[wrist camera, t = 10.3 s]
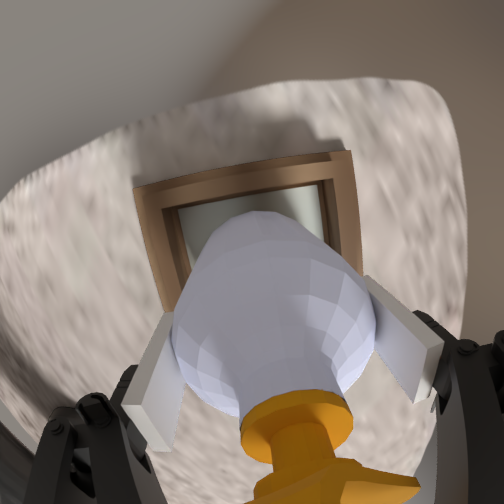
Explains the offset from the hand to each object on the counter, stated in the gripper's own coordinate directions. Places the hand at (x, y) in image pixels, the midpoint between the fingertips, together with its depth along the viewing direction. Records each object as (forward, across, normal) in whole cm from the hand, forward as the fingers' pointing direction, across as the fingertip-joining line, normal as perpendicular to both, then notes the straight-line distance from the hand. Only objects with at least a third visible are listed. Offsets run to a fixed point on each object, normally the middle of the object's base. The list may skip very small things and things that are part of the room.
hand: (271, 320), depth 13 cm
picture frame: (+10, 0, 0) cm, 10 cm away
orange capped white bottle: (+8, 0, 0) cm, 8 cm away
